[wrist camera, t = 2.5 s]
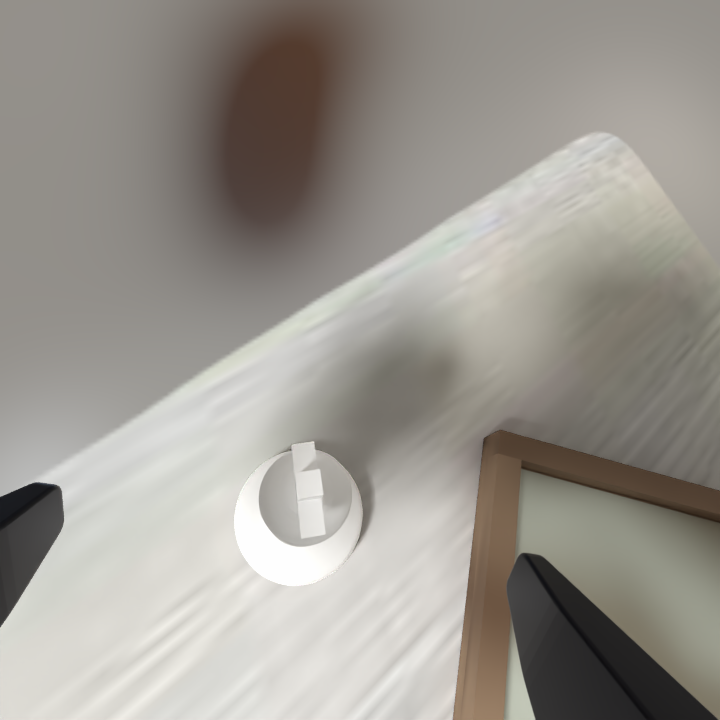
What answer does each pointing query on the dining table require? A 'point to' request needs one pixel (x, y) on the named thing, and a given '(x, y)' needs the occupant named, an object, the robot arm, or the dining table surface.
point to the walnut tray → (590, 565)
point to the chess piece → (298, 516)
